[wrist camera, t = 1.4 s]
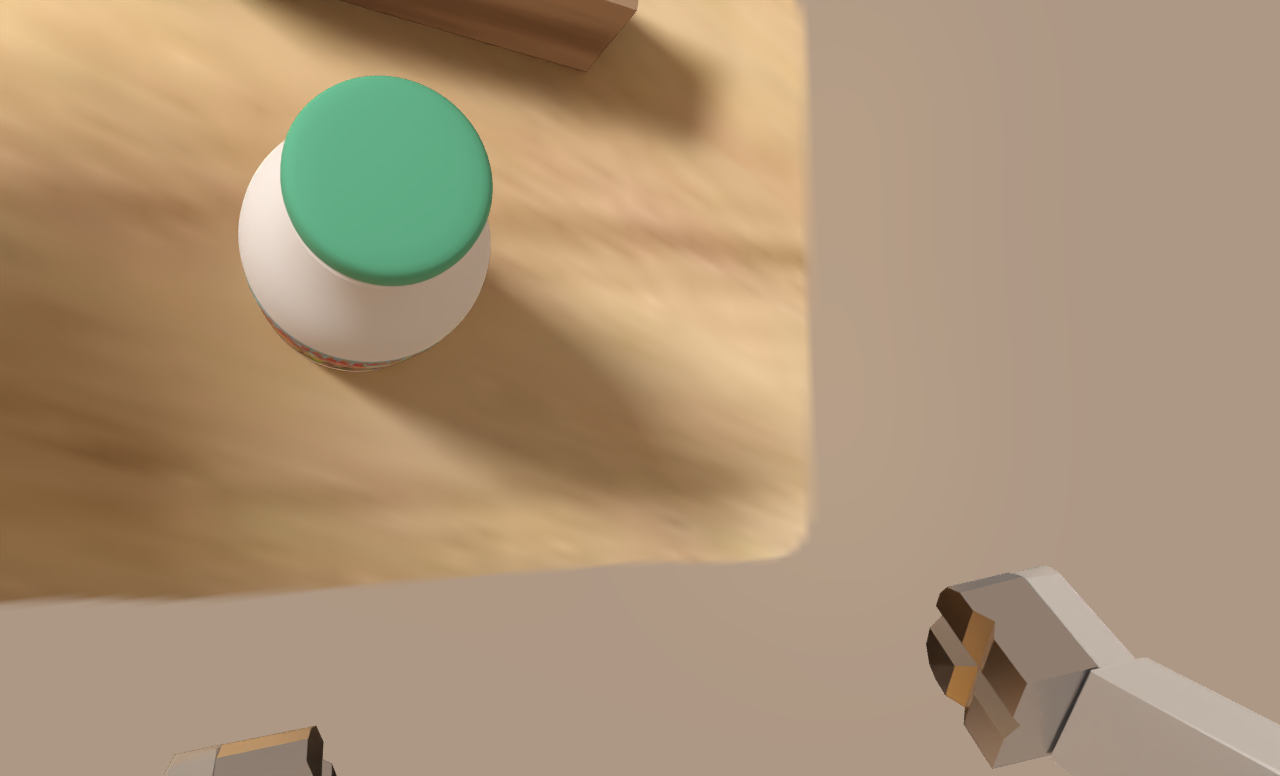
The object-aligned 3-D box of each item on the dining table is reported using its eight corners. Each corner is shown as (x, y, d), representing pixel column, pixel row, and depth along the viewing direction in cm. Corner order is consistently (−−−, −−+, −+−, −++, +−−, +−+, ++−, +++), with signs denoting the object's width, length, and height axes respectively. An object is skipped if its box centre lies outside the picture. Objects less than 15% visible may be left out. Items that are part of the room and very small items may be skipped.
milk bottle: (255, 194, 36) (185, -26, 17) (440, 201, 38) (555, 17, 20) (263, 376, 36) (203, 355, 17) (447, 369, 39) (570, 345, 20)
